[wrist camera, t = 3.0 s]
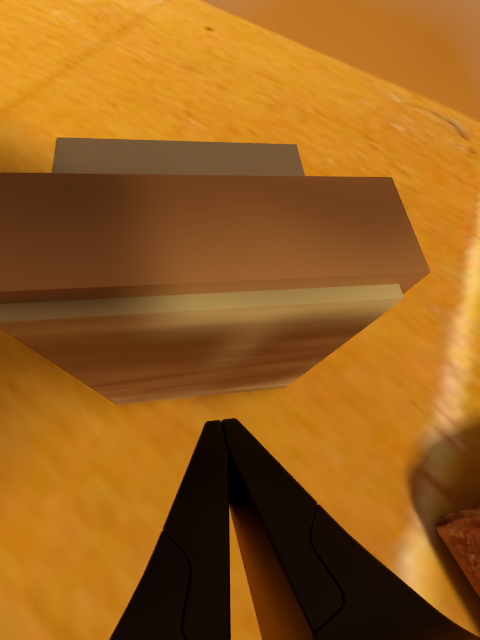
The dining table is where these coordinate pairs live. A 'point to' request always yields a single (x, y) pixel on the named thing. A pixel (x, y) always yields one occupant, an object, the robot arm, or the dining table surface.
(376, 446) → the dining table surface
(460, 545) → the ceramic shard
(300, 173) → the charcoal rubber mat
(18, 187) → the brown wooden block
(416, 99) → the dining table surface
